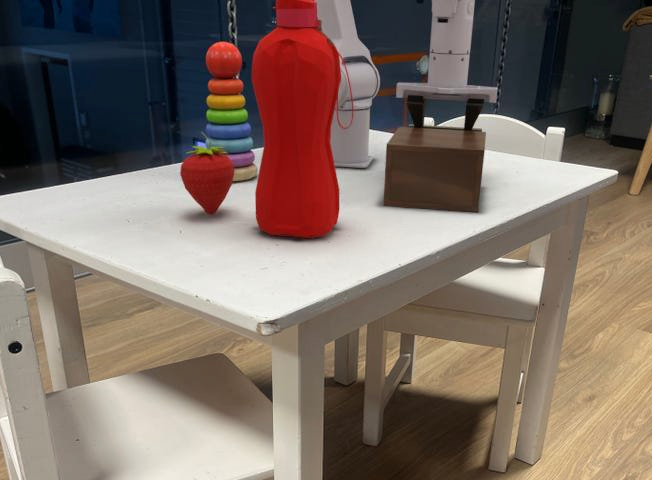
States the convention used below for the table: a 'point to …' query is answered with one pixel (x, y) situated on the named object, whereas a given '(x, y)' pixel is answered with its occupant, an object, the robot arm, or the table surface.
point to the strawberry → (208, 176)
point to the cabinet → (434, 169)
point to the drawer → (446, 128)
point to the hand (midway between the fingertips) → (441, 150)
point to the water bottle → (297, 123)
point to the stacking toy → (229, 110)
